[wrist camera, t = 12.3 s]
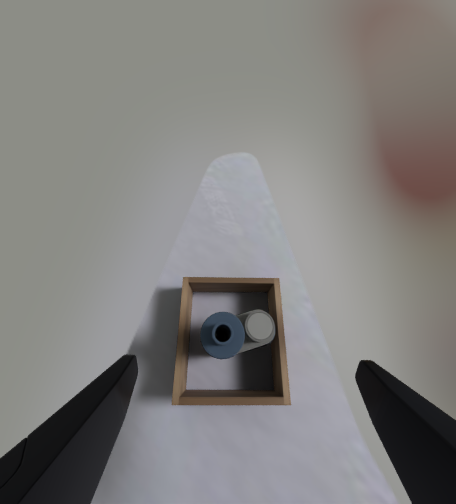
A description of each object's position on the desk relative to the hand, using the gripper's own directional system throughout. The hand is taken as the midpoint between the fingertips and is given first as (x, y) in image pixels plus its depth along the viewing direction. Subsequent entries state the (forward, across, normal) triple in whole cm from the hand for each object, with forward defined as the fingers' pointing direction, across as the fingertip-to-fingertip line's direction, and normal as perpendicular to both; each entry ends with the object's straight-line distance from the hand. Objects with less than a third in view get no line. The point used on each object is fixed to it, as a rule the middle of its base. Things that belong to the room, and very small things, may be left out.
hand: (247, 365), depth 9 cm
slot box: (+11, 0, +8) cm, 14 cm away
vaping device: (+11, 0, +8) cm, 14 cm away
